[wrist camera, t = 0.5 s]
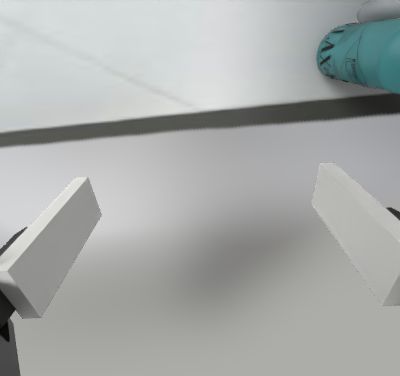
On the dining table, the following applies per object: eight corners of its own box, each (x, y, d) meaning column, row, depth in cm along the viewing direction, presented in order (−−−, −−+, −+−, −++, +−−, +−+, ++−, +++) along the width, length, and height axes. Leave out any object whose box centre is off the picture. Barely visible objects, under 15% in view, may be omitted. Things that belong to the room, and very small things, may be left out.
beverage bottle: (337, 13, 32) (494, -25, 15) (367, 47, 34) (536, 46, 17) (300, 58, 35) (397, 70, 18) (330, 86, 37) (443, 122, 19)
